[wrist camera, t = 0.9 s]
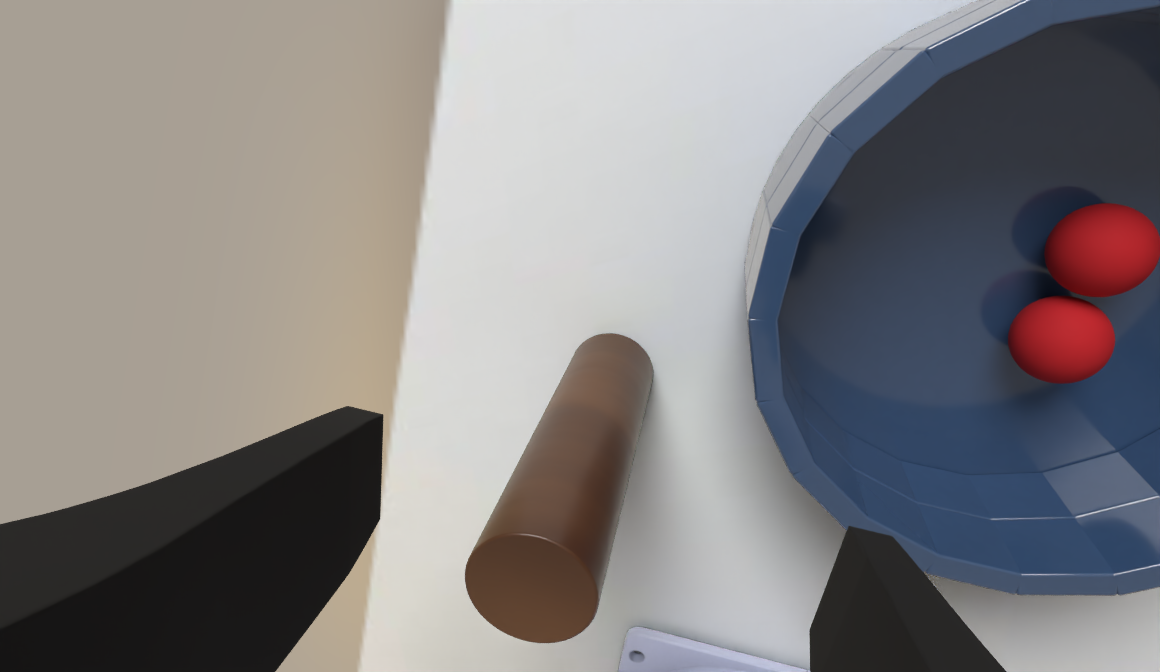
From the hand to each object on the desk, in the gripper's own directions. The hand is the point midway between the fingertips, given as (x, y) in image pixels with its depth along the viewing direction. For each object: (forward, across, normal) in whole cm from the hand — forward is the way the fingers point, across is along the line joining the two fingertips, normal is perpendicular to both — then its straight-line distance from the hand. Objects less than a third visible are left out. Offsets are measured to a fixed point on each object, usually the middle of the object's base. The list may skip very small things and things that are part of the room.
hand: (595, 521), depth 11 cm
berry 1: (+8, -9, -4) cm, 13 cm away
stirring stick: (+9, +1, +2) cm, 10 cm away
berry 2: (+8, -9, -2) cm, 12 cm away
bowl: (+9, -8, -3) cm, 13 cm away
